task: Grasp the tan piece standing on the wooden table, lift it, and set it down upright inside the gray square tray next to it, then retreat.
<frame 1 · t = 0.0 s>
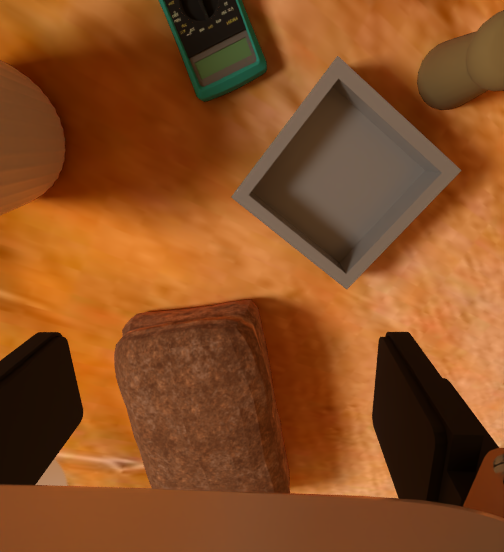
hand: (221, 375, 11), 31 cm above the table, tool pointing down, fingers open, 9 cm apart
bread: (217, 396, 49), on the table
tan piece: (448, 76, 35), on the table
gray square tray: (334, 180, 39), on the table
digital multimeter: (206, 13, 35), on the table
canister: (15, 137, 40), on the table
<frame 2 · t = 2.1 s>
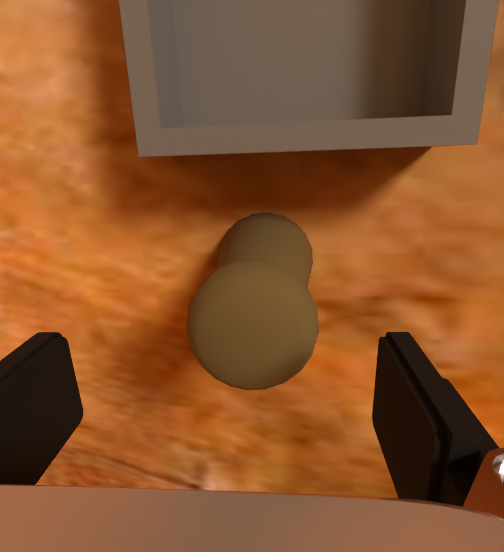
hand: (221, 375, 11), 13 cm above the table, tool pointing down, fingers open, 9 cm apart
tan piece: (265, 259, 23), on the table
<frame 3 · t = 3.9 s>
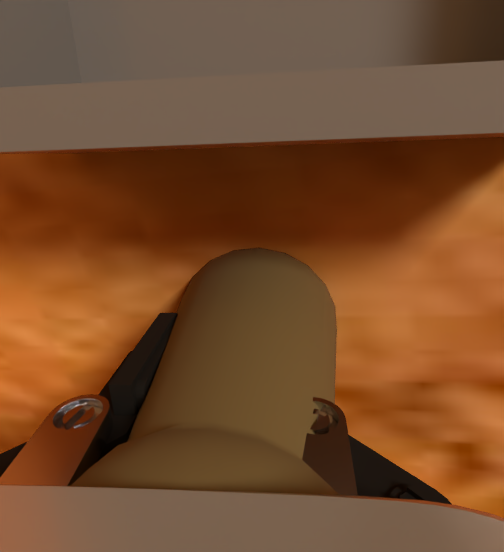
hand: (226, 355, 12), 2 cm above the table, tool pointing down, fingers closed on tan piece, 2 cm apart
tan piece: (257, 321, 14), on the table, touching gripper
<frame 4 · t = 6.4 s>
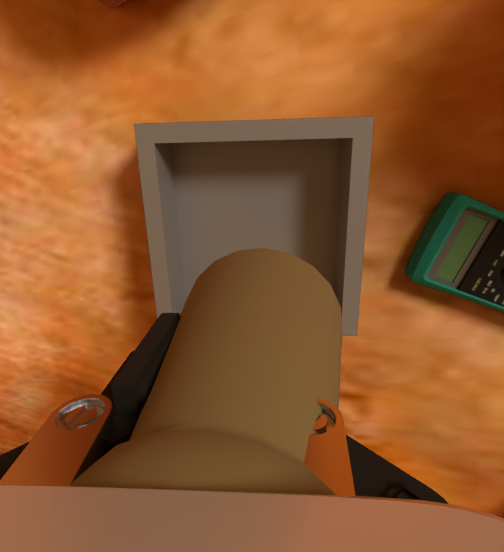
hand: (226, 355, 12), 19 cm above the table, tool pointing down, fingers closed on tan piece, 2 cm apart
tan piece: (262, 322, 14), point 17 cm above the table, touching gripper
gray square tray: (257, 224, 30), on the table
digital multimeter: (498, 261, 30), on the table
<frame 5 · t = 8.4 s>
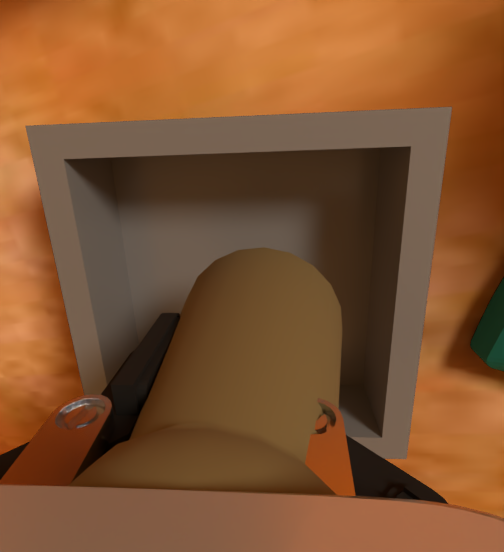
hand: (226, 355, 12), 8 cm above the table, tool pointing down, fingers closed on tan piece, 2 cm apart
tan piece: (262, 321, 14), point 6 cm above the table, touching gripper
gray square tray: (248, 274, 20), on the table
when the fingers open (5 cm above the table, at t = 9.5 s): tan piece stays where it is, resting on gray square tray.
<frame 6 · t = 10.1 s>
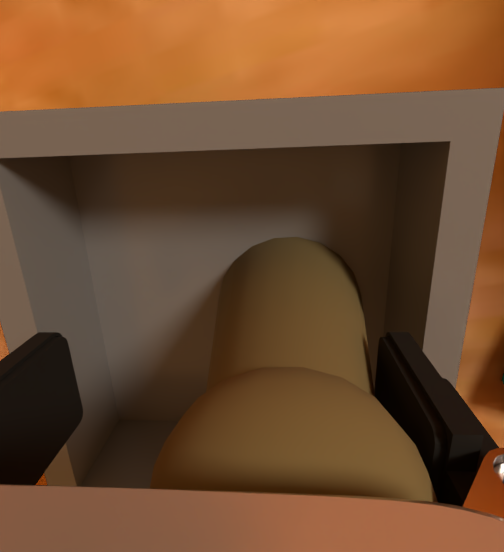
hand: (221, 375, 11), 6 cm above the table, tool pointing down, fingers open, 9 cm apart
tan piece: (288, 303, 16), point 1 cm above the table, touching gripper, gray square tray
gray square tray: (239, 295, 17), on the table
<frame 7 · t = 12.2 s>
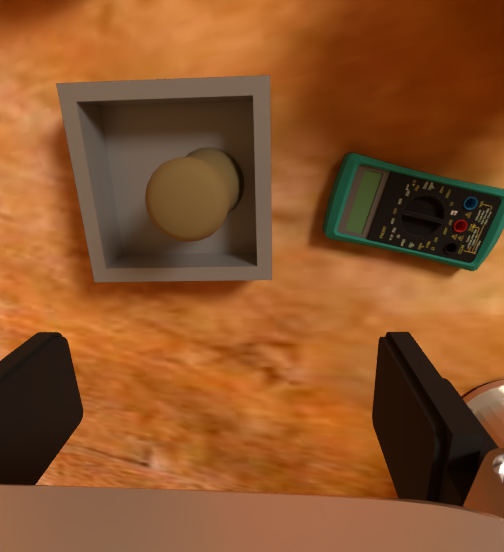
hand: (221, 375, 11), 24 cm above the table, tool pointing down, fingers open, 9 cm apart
tan piece: (209, 183, 32), point 1 cm above the table, touching gray square tray
gray square tray: (186, 182, 32), on the table
digital multimeter: (406, 210, 33), on the table
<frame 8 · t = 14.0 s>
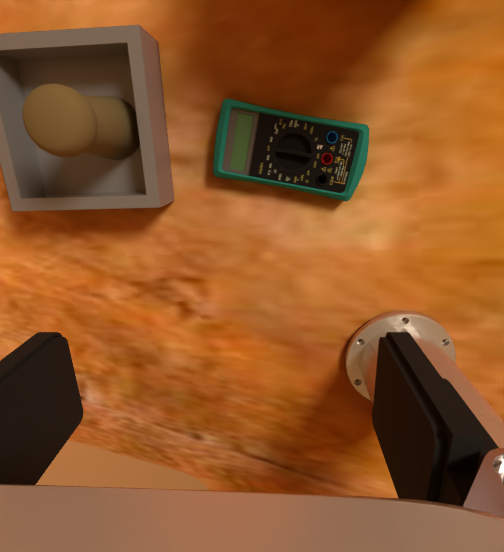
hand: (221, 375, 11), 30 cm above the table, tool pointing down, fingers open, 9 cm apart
tan piece: (113, 128, 37), point 1 cm above the table, touching gray square tray
gray square tray: (95, 129, 38), on the table
digital multimeter: (288, 151, 38), on the table
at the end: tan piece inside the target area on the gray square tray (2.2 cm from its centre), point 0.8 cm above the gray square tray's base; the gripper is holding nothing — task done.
